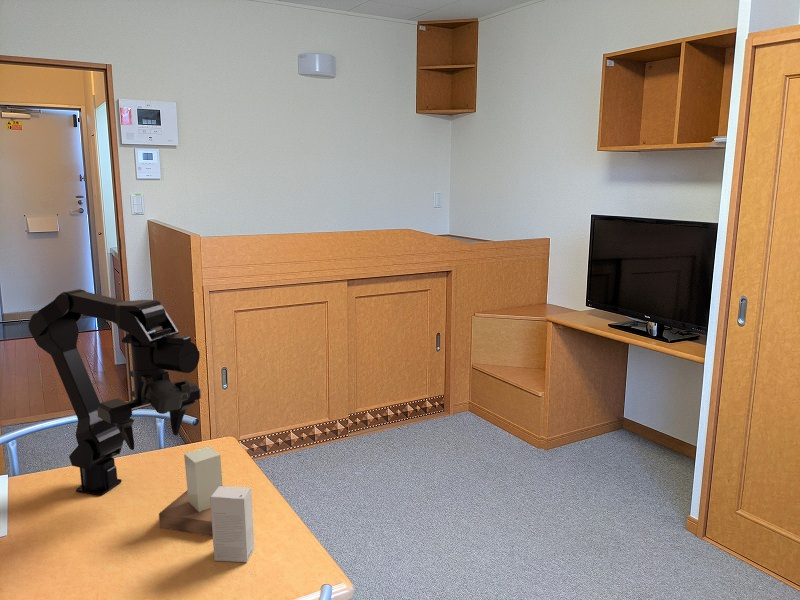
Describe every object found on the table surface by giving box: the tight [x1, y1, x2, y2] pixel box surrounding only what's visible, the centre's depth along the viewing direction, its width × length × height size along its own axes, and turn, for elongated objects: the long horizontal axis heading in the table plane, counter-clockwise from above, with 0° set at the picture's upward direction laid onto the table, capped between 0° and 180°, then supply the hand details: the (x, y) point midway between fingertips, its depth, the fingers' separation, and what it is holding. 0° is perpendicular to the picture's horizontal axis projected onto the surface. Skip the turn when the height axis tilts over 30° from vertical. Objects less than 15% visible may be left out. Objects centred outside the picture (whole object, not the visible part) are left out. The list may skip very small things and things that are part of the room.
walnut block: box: [158, 490, 213, 538], centre depth 127 cm, size 12×12×4 cm
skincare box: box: [210, 486, 255, 563], centre depth 114 cm, size 6×4×12 cm
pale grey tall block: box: [183, 445, 223, 512], centre depth 126 cm, size 5×5×10 cm
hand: (154, 442), depth 130 cm, fingers open, 9 cm apart
